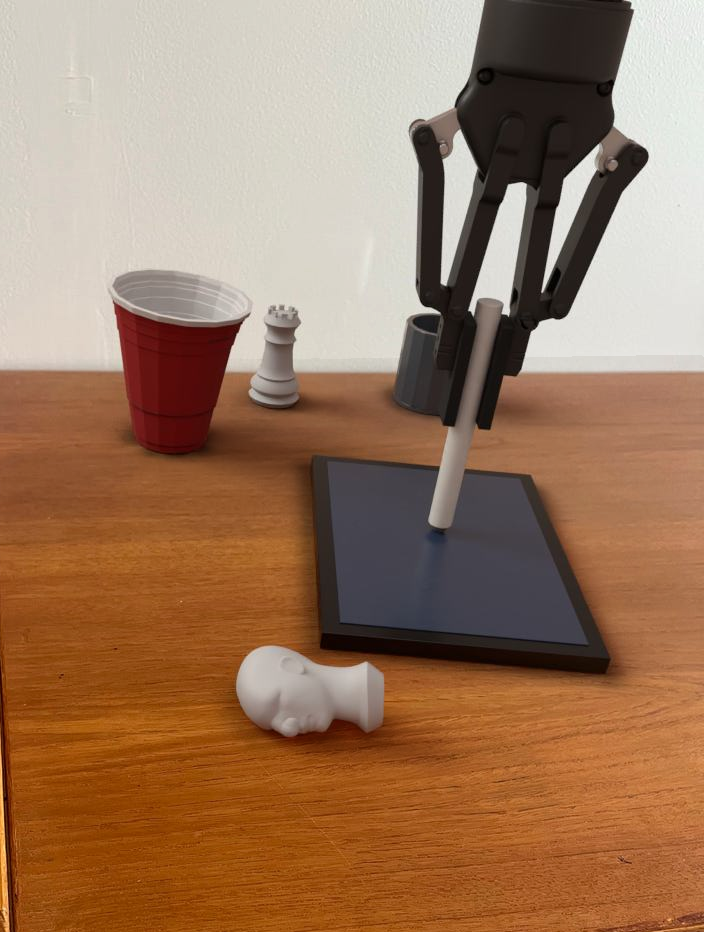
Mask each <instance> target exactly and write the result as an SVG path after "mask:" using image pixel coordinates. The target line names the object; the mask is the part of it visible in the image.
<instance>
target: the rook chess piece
mask: <svg viewBox="0 0 704 932" xmlns="http://www.w3.org/2000/svg"><path fill="white" fill-rule="evenodd" d="M285 306H286V304H282V303H281V304H280V303H279V304H278V309H276V308H277V305H276V304H271V305H270V306H269V307H268V309H267V313H266V314H265V315H264V316H263V317H262V321H263V323H264V324H265V327H266V328H267V329H266V332H265V334H264V335H263V339H264V341H265V342H264V351H263V353H262V357H261V362H260V364H259V367H258V368H257V369H256V373H255V374H254V375H253V376H252V377H251V379H250V381H249V382H250V386H251V388H250V389H249V390H248V396H249V397H250V399H251V401H252V402H254V403H255V404H257V405H258V406H261V407H265V408H268V409H287V408H290V407H292V406H293V405H295V403H297V401H298V400H299V399H300V396H299V393H297V392H298V390H299V389H300V383H299V380H298V379H297V377H296V376H297V374H296V371H295V370H294V345H295V343H296V342H297V337H296V335H295V333H296V330H297V329H298V328H299V326H300V325H301V324H302V320H301V319H300V318H299V309H297V308H296V307H295V306H293V305H289V306H288V309H287V310H286V309H285Z"/></svg>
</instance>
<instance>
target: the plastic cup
mask: <svg viewBox="0 0 704 932" xmlns="http://www.w3.org/2000/svg"><path fill="white" fill-rule="evenodd" d="M106 287H107V292H108V294H109V295H110V297H111V300H112V304H113V309H114V311H113V312H114V315H115V318H116V319H115V320H116V329H117V331H118V336H119V347H120V353H121V361H122V369H123V375H124V377H123V378H124V384H125V392H126V393H125V394H126V399H127V400H128V406H129V413H130V421H131V428H132V432H133V434H134V438H135V440H136V441H137V443H138V444H139V445H141V447H144V448H146V449H147V450H151V451H154V452H158V453H165V454H185V453H190V452H193V451H197V450H199V449H200V448H202V447H203V446H204V445H205V442H206V439H207V438H208V435H209V431H210V427H211V424H212V423H211V422H212V420H213V416H214V411H215V408H216V407H217V403H218V400H219V396H220V393H221V389H222V385H223V381H224V377H225V373H226V371H227V367H228V366H227V365H228V363H229V360H230V355H231V351H232V347H233V346H235V345H234V344H235V341H236V339H237V335H238V334H239V332H240V330H241V327H242V325H243V323H244V322H245V321H246V320H247V319H248V318H250V315H251V314H252V311H253V300H252V299H250V297H249V296H247V294H246V293H245V292H244V291H243V290H240V289H239V288H237V287H235V286H233V285H231V284H229V283H227V282H225V281H223V280H219V279H216V278H212V277H210V276H207V275H204V274H200V273H194V272H189V271H183V270H178V269H167V268H166V269H164V268H139V269H138V268H137V269H129V270H125V271H123V272H120V273H116V274H115V275H112V276H111V277H110V280H109V281H108V283H107V285H106Z"/></svg>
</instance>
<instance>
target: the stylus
mask: <svg viewBox="0 0 704 932" xmlns="http://www.w3.org/2000/svg"><path fill="white" fill-rule="evenodd" d="M504 305H505V304H504V302H503V301H501V300H500V299H497V298H491V297H480V298H478V299H477V300H476V303H475V308H474V312H473V318H474V319H475V321H476V323H477V330H476V334H475V339H474V343H473V348H472V352H471V357H470V361H469V366H468V370H467V374H466V379H465V383H464V388H463V392H462V397H461V401H460V406H459V410H458V414H457V419H456V423H455V427H450V426H448V430H447V435H446V439H445V444H444V448H443V453H442V456H441V460H440V465H439V466H440V470H439V475H438V479H437V484H436V488H435V493H434V497H433V502H432V506H431V511H430V515H429V520H428V521H429V523H430V524H431V525H432V529H433V530H435V531H439V532H443V531H445V530H446V528H449V527H450V526H451V525H452V521H453V517H454V513H455V508H456V504H457V500H458V496H459V492H460V487H461V483H462V479H463V475H464V471H465V469H466V467H467V463H468V457H469V453H470V450H471V445H472V442H473V441H472V440H473V437H474V432H475V428H476V425H477V424H476V420H477V415H478V411H479V407H480V403H481V398H482V394H483V390H484V386H485V382H486V377H487V373H488V369H489V365H490V360H491V356H492V352H493V348H494V344H495V339H496V335H497V331H498V327H499V322H500V319H501V314H503V310H504V307H505V306H504Z"/></svg>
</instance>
